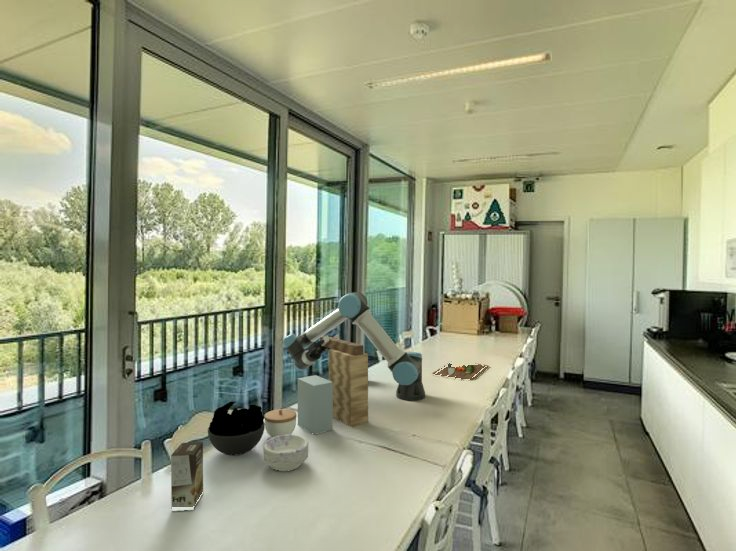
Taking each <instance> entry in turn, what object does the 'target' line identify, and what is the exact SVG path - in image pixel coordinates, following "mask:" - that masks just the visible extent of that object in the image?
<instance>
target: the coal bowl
mask: <svg viewBox="0 0 736 551" xmlns="http://www.w3.org/2000/svg"><path fill="white" fill-rule="evenodd" d="M235 403H237V401H229V402H227V403H225V404H224V405H222V406H220V407H218V408H216V410H214V412H213V417H212V418H211V422H210V423H209V426H208V428H207V435H208V438H209V441H210V444H211V445H212V446H213V447H214V448H215V450H217V451H218V452H220V453H221V454H222V455H225V456H226V455H227V456H234V457H235V456H240V455H244V454H247V453H248V452H250V451H251V450H253V449H254V448H256V446H257V445H258V443H260V441H261V439H262V437H263V435H264V433H265V432H264V431H265V429H266V428H265V418H264V415H263V412H262V409H263V408H262V407H261V406H259V405H256V404H250V405H249V408H246V407H245V408H243V407H241V408H239V409H238V408H234V409H233V410H232V411H231V413H229V410H230V409H231V408H232V406H233V405H234V404H235Z"/></svg>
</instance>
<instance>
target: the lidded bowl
mask: <svg viewBox="0 0 736 551" xmlns="http://www.w3.org/2000/svg"><path fill="white" fill-rule="evenodd" d="M263 417H264V423H265V428H264V429H265V431H266V433H267V434H268V436H269V437H270V438H273V437H276V436H280V435H288V434H291V435H293V433H294V431H295V428H296V424H297V412H296V411H295V410H294V409H293V410H292V409H288V408H278V409H273V410H270V411H268V412H266V413H264V415H263Z"/></svg>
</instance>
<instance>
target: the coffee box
mask: <svg viewBox="0 0 736 551" xmlns="http://www.w3.org/2000/svg"><path fill="white" fill-rule="evenodd" d="M170 458H171V459H170V465H171V467H170V474H171V475H170V481H171V482H170V485H171V489H170V490H171V492H170V493H171V495H170V496H171V498H170V499H171V501H170V502H171V508H172V507H193V506H195V504H196V502H197V500H198V499H199V497H200V495H201V494H202V492H203V493H204V441H191V442H189V441H188V442H182V443H181V444H180V445H178V447H177V448H176V449H175V450H174V451H173V452H172V454H171V455H170Z"/></svg>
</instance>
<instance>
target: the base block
mask: <svg viewBox="0 0 736 551" xmlns="http://www.w3.org/2000/svg"><path fill="white" fill-rule="evenodd" d="M296 380H297V425H298V426H299V425H300V426H299V427H301V426H302V427H301V428H303V429H304V428H305V429H304V430H306V431H307V430H308V431H307V432H309V431H310V432H309V433H310V434H312V433H313V434H312V435H314V434H315V435H317V433H318V434H322V433H325V432H324V431H326V432H328V430H329V431H332V429H333V430H334V428H333V426H334V425H333V424H334V423H333V422H334V417H333V382H331V381H329V379H326V378H325V377H324V378H323V377H321V376H318V375H316V374H314V375H309V376H304V377H299V378H297V379H296ZM321 432H322V433H321Z"/></svg>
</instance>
